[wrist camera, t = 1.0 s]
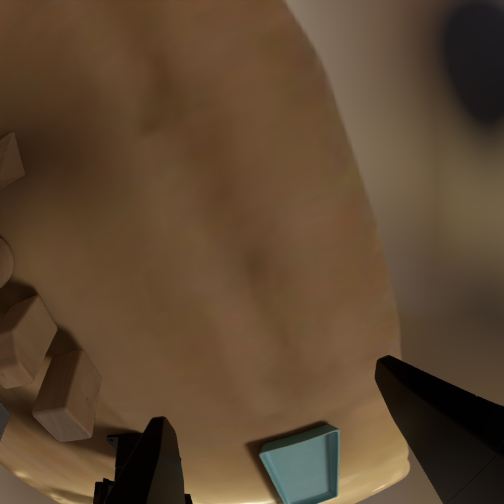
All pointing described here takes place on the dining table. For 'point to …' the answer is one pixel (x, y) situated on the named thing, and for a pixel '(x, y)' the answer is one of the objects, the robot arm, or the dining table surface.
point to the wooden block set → (42, 345)
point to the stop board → (3, 418)
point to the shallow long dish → (304, 465)
